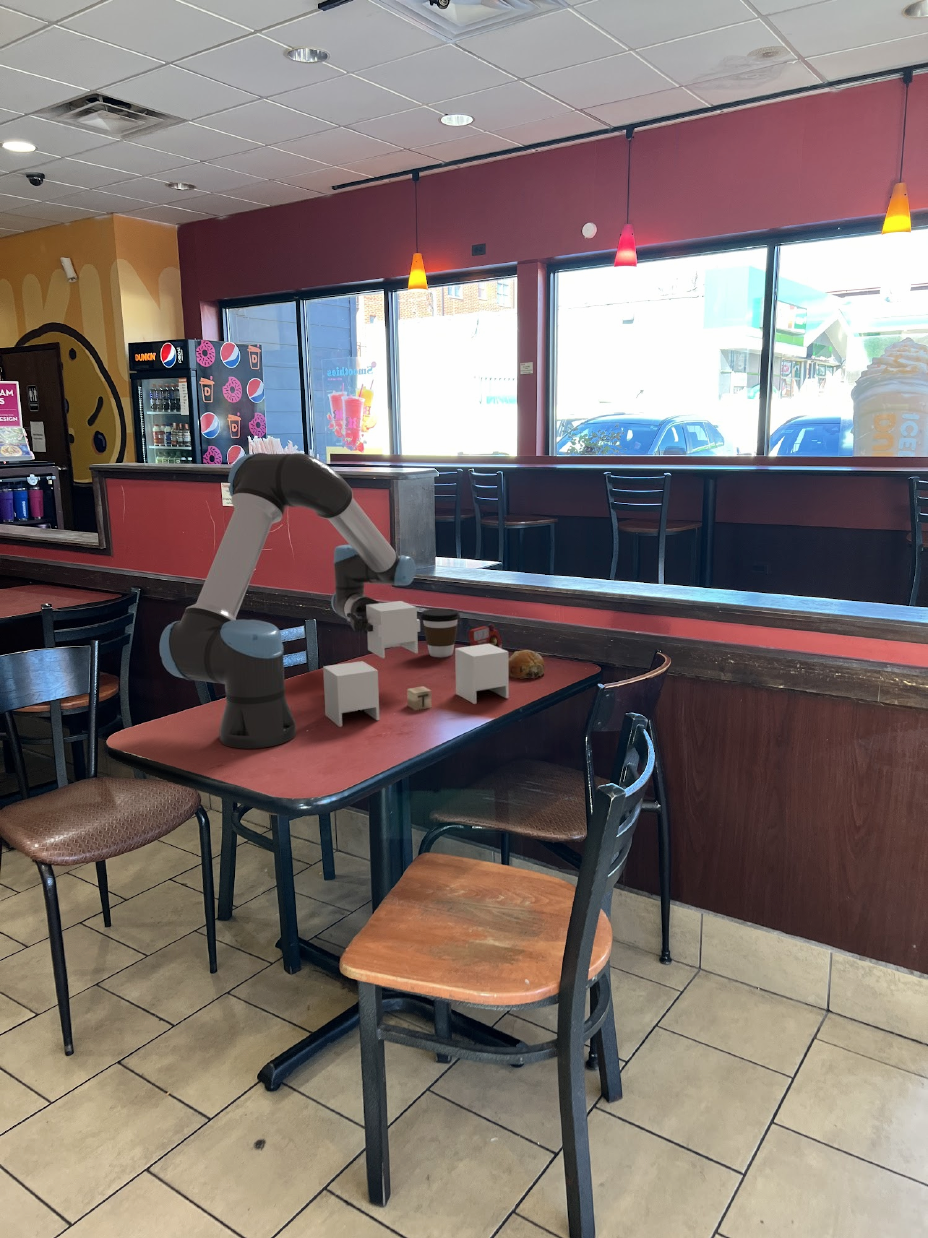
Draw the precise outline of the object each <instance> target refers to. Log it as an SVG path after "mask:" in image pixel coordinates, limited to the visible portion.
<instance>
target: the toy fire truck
mask: <svg viewBox="0 0 928 1238" xmlns="http://www.w3.org/2000/svg"><path fill="white" fill-rule="evenodd" d="M468 640H469V646H476V645H483V644H491V645H494V646H496V647H498V648H501V649H503V648H502V647H503V646H502V645H503V642H502V640H501V637H500V633H499V631H498V630H497V629H495V625H494V624H493V623H489V624H487V626H485V625H484V626H480V627H476V628H473V629H469V632H468ZM503 650H505V649H503Z"/></svg>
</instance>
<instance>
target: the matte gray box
mask: <svg viewBox="0 0 928 1238" xmlns="http://www.w3.org/2000/svg"><path fill="white" fill-rule="evenodd" d="M454 650H455V651H454V652H455V653H454V654H455V657H454V658H455V661H454V662H455V694H456V695H457V696H459V697H462V699H465V700H467V701H469V702H470V703H472V704H474V705H476V704H477V692H481V691H487V690H490V691H491V692H493V693H495V694H497V695H499V696H501V697H503V698H505V699H510V698H509V695H510V694H509V690H510V689H509V684H510V683H509V675H508V659H509V651H508V650H506V649H504V650H503V648H502V649H501V648H498V647H496V646H494V645H491V644H483V645H476V646H470V645H469V646H463V647H455V648H454Z"/></svg>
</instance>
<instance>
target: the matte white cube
mask: <svg viewBox="0 0 928 1238" xmlns="http://www.w3.org/2000/svg"><path fill="white" fill-rule="evenodd" d="M322 669H323V670H322V671H323V689H324V690H323V691H324V706H325V707H324V711H325V713H324V714H325V716H326V717H327V718H328V719H329V720H331V721H332V722H333V723H334V724H335V725H337V726H338V727H339V728H340V727H343V714H346V713H347V714H348V713H351V712H352V713H353V712H358V710H360V711H363V710H364V713H366V714H367V715H369V716H370V717H371V718H373V719H374V720H376V721H380V698H379V697H380V695H379V671H378V670H377V669H376V668H374V667H373V666H371V665H370V664H368V663H366V662H365V661H363V660H361V661H353V662H347V663H346V662H345V663H339V664H332V665H325V666H324V665H323V667H322Z"/></svg>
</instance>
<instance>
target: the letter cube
mask: <svg viewBox="0 0 928 1238" xmlns="http://www.w3.org/2000/svg"><path fill="white" fill-rule="evenodd" d="M406 696H407V700H406V701H407V706H408V707H409V708H410V709H412V710H414V711H418V710H419V709H420V710H424V709H431V708H432V690H431V689H429V688H427V687H426V686H417V687H411V688H407V689H406ZM420 710H419V711H420Z"/></svg>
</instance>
